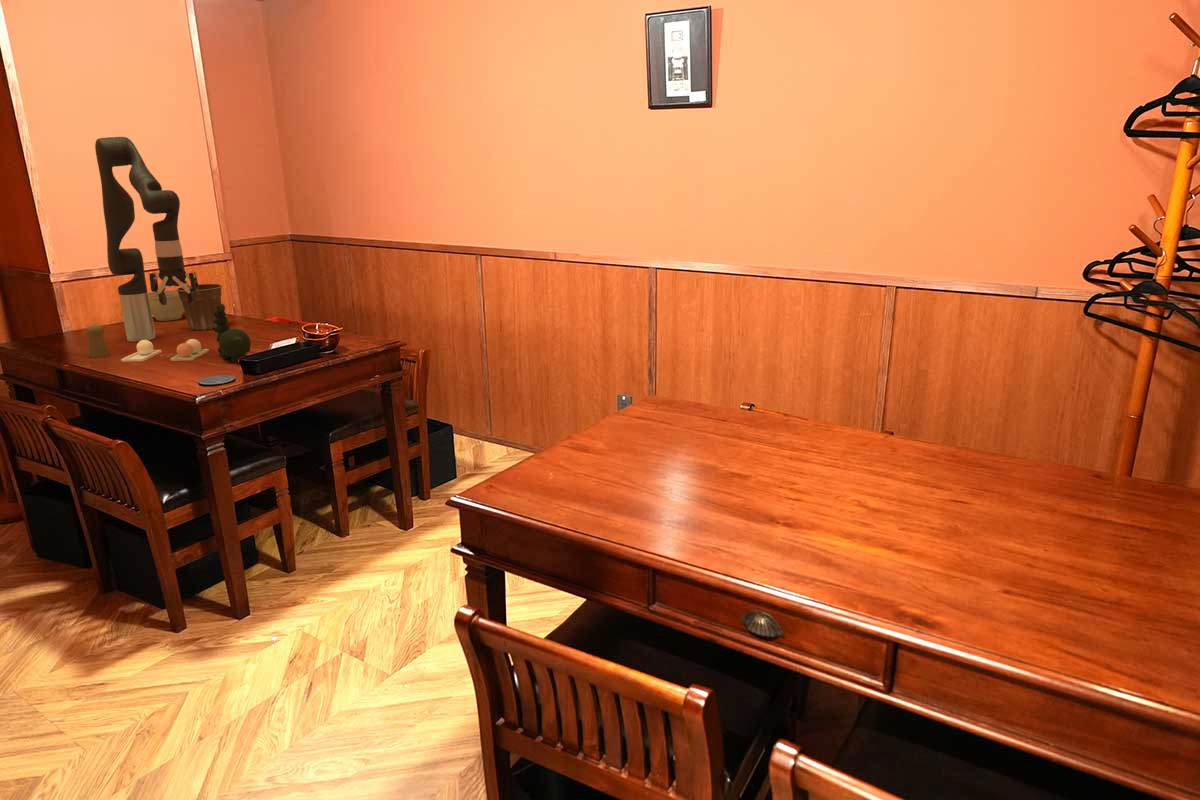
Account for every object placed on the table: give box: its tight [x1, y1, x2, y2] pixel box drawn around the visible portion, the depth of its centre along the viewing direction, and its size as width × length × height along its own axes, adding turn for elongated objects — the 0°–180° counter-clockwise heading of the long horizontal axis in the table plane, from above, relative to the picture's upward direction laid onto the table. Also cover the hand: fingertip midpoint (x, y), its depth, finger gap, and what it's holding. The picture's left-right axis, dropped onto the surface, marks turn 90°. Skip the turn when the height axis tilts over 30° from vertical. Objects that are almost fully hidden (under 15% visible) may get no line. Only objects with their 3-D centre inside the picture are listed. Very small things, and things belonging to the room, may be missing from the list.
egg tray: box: [120, 349, 162, 363], centre depth 272 cm, size 13×7×1 cm, turn 2°
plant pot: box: [175, 283, 223, 331], centre depth 317 cm, size 16×16×16 cm
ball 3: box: [185, 338, 202, 354], centre depth 275 cm, size 5×5×5 cm
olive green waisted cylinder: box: [85, 324, 111, 359], centre depth 272 cm, size 6×6×11 cm
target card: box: [159, 353, 175, 358], centre depth 272 cm, size 8×6×1 cm
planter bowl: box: [148, 289, 185, 322], centre depth 336 cm, size 16×16×11 cm
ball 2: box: [176, 342, 193, 358], centre depth 269 cm, size 5×5×5 cm
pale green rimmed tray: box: [169, 348, 210, 362], centre depth 272 cm, size 13×7×1 cm, turn 2°
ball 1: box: [136, 340, 154, 355], centre depth 274 cm, size 5×5×5 cm
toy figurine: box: [213, 303, 252, 364], centre depth 267 cm, size 9×19×25 cm
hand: (177, 304), depth 264 cm, fingers open, 8 cm apart
